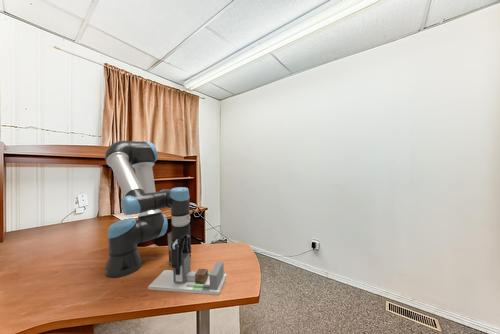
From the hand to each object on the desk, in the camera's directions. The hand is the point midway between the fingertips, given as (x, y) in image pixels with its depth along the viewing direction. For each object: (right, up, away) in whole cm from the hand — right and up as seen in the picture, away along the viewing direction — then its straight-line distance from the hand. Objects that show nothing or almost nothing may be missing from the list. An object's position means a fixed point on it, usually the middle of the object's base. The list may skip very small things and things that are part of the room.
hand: (182, 276), depth 85 cm
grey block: (+2, -1, 0) cm, 2 cm away
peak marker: (+9, -1, -1) cm, 9 cm away
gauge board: (+3, -3, 0) cm, 4 cm away
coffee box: (-7, -2, +16) cm, 18 cm away
